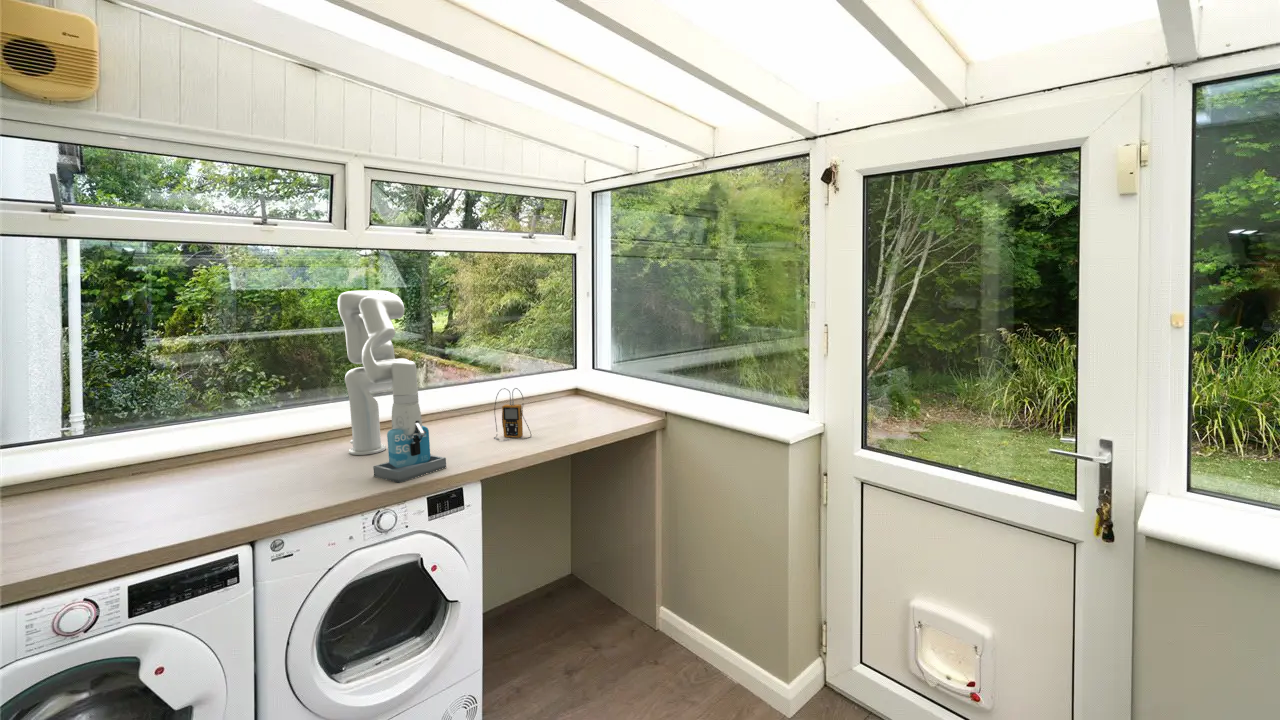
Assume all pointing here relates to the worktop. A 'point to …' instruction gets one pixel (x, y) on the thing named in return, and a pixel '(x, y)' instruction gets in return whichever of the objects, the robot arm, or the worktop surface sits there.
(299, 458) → the worktop surface
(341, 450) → the worktop surface
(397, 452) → the data package
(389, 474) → the parts tray
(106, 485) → the worktop surface
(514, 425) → the multimeter
